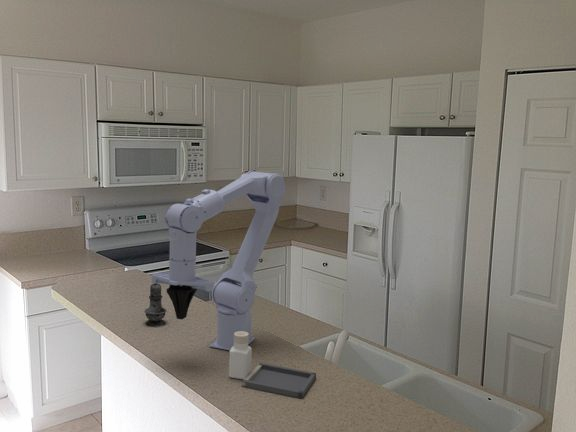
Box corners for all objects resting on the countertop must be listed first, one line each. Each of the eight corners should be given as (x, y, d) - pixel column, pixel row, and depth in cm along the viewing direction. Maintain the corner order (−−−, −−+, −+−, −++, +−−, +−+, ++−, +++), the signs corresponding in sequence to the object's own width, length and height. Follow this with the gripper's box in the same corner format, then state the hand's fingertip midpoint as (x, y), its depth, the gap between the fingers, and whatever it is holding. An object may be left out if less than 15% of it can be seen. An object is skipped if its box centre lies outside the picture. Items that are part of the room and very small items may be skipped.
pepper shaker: (251, 373, 117) (253, 331, 115) (245, 381, 113) (247, 338, 112) (234, 370, 118) (235, 329, 116) (227, 378, 114) (229, 335, 112)
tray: (259, 367, 120) (259, 362, 120) (315, 378, 116) (316, 373, 115) (241, 386, 110) (241, 380, 110) (301, 398, 106) (302, 393, 106)
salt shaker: (143, 320, 147) (143, 277, 145) (165, 318, 148) (166, 277, 147) (144, 327, 141) (145, 283, 139) (167, 326, 143) (168, 282, 141)
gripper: (143, 258, 116) (143, 318, 118) (203, 266, 111) (201, 328, 113) (161, 252, 123) (160, 309, 125) (218, 259, 118) (216, 318, 120)
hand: (181, 317), depth 119 cm, fingers closed
